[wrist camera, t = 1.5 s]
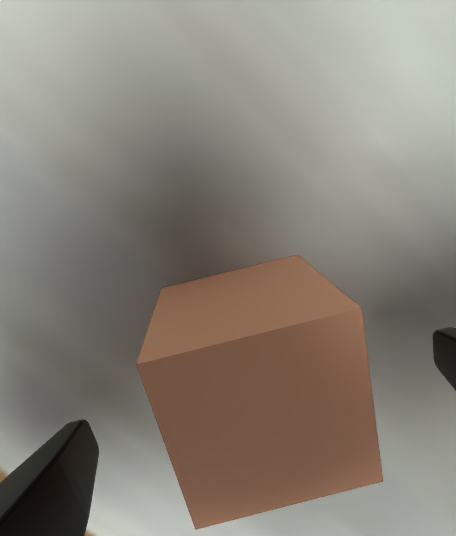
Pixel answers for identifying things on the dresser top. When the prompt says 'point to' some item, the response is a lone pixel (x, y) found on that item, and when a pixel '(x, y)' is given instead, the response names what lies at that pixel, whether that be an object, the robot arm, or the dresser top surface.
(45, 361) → the dresser top surface
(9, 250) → the dresser top surface
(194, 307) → the terracotta cube
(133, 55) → the dresser top surface
